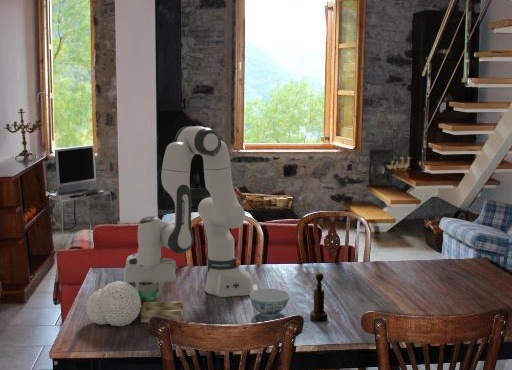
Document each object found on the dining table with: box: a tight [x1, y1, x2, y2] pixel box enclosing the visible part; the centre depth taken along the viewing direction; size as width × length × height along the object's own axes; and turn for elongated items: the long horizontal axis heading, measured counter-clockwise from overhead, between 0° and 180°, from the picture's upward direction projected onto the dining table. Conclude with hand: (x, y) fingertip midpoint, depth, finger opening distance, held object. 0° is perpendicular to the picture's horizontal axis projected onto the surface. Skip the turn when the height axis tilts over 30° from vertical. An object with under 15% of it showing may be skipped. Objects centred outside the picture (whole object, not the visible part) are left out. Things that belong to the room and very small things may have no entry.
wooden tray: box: [140, 301, 184, 323], centre depth 259 cm, size 15×10×4 cm
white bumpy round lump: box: [85, 280, 141, 327], centre depth 251 cm, size 20×18×16 cm
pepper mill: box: [309, 272, 328, 323], centre depth 257 cm, size 7×6×18 cm
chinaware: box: [249, 288, 290, 318], centre depth 263 cm, size 15×15×8 cm
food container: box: [137, 282, 160, 310], centre depth 271 cm, size 12×6×10 cm, turn 168°
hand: (149, 292), depth 271 cm, fingers open, 6 cm apart
